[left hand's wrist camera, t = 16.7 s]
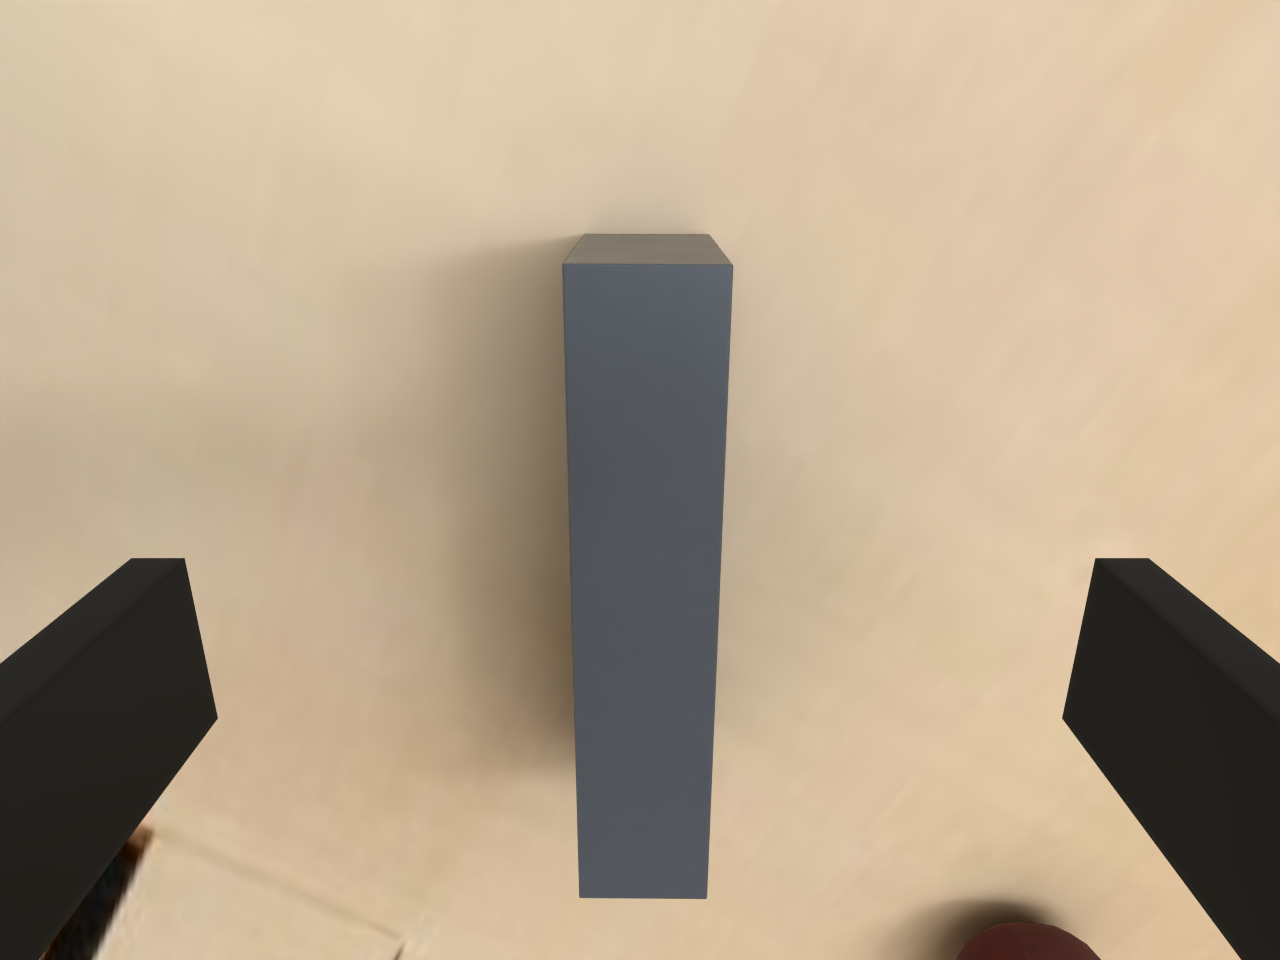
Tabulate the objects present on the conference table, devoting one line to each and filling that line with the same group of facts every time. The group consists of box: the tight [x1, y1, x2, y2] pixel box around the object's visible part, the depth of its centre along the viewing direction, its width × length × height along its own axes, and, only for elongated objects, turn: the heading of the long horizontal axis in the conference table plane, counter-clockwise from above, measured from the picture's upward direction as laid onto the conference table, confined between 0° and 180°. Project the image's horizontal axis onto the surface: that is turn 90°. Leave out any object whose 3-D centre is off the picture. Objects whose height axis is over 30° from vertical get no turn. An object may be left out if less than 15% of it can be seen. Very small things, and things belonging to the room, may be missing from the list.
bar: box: [562, 234, 733, 899], centre depth 31 cm, size 22×5×9 cm, turn 0°
